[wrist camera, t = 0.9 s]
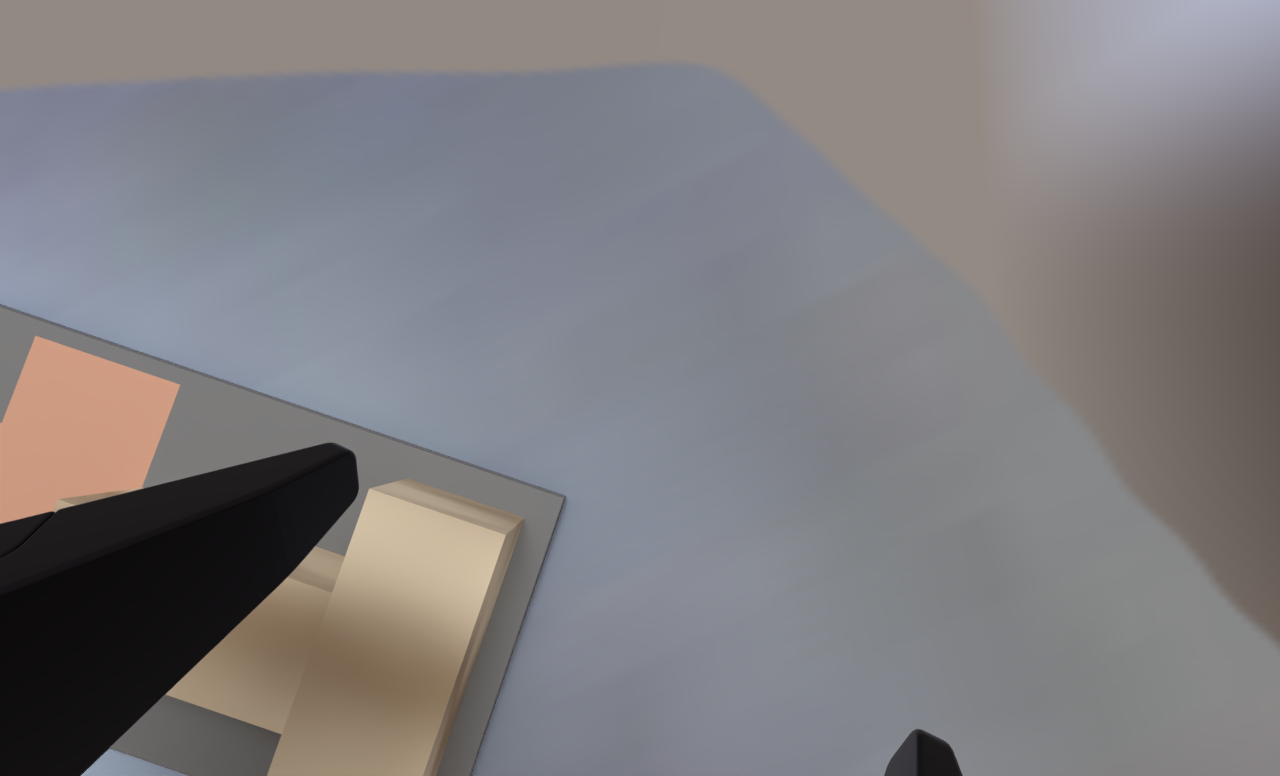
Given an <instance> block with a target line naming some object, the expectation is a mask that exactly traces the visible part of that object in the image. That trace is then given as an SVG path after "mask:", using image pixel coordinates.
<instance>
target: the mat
mask: <svg viewBox="0 0 1280 776" xmlns="http://www.w3.org/2000/svg"><path fill="white" fill-rule="evenodd" d="M329 442H332V443H337V444H339V445H341V446H343V447H345V448H347V449H349V450H351V451H353V452H354V454H355V456H356V460H357V470H358V479H359V492H358V495H357V497H356V499H355V501H354V502H353V503H352V505H351V506H350V507H349V508H348V509H347V510H346V511H345V513H344V514H343V515H342V516H341V517H340V518H339V520H338V521H337V522H336V523H335V524H334V525H333V526H332V528H331V529H330V530H329V531H328V532H327V533H326V535H325V536H324V537H323V538H322V539H321V540H320V541H319V543H318V544H317V545H316V547H319V548H322V549H324V550H327V551H330V552H333V553H336V554H339V555H342V556H345V555H346V552H347V550H348V547H349V544H350V541H351V538H352V536H353V533H354V530H355V527H356V524H357V521H358V519H359V516H360V513H361V510H362V507H363V505H364V502H365V499H366V496H367V493H368V491H369V489H370V488H373V487H377V486H381V485H385V484H388V483H392V482H396V481H399V480H403V479H407V478H408V479H411V480H414V481H417V482H420V483H423V484H426V485H429V486H432V487H435V488H438V489H441V490H444V491H447V492H450V493H453V494H455V495H458V496H461V497H464V498H467V499H470V500H473V501H476V502H479V503H482V504H485V505H488V506H491V507H494V508H497V509H500V510H503V511H506V512H509V513H511V514H514V515H517V516H520V517H523V518H524V521H523V524H522V527H521V530H520V533H519V535H518V538H517V541H516V544H515V547H514V550H513V553H512V556H511V559H510V562H509V565H508V567H507V570H506V573H505V576H504V579H503V582H502V585H501V588H500V591H499V594H498V597H497V600H496V602H495V605H494V608H493V611H492V614H491V617H490V620H489V623H488V626H487V629H486V632H485V634H484V637H483V640H482V643H481V646H480V649H479V652H478V655H477V658H476V661H475V664H474V666H473V669H472V672H471V675H470V678H469V681H468V684H467V687H466V690H465V693H464V696H463V698H462V701H461V704H460V707H459V710H458V713H457V716H456V719H455V722H454V725H453V728H452V731H451V733H450V736H449V739H448V742H447V745H446V748H445V751H444V754H443V757H442V760H441V763H440V765H439V768H438V771H437V774H436V776H471V773H472V770H473V767H474V764H475V761H476V758H477V755H478V752H479V749H480V746H481V743H482V740H483V738H484V735H485V732H486V729H487V726H488V723H489V720H490V717H491V714H492V711H493V708H494V705H495V702H496V699H497V696H498V694H499V691H500V688H501V685H502V682H503V679H504V676H505V673H506V670H507V667H508V664H509V661H510V658H511V655H512V652H513V650H514V647H515V644H516V641H517V638H518V635H519V632H520V629H521V626H522V623H523V620H524V617H525V614H526V611H527V608H528V606H529V603H530V600H531V597H532V594H533V591H534V588H535V585H536V582H537V579H538V576H539V573H540V570H541V567H542V564H543V562H544V559H545V556H546V553H547V550H548V547H549V544H550V541H551V538H552V535H553V532H554V529H555V526H556V523H557V520H558V518H559V515H560V512H561V509H562V506H563V503H564V500H565V497H566V496H564V495H561V494H558V493H555V492H552V491H549V490H546V489H543V488H541V487H538V486H535V485H532V484H529V483H526V482H523V481H520V480H517V479H514V478H511V477H508V476H505V475H502V474H499V473H496V472H493V471H490V470H487V469H484V468H482V467H479V466H476V465H473V464H470V463H467V462H464V461H461V460H458V459H455V458H452V457H449V456H446V455H443V454H440V453H437V452H434V451H431V450H428V449H425V448H422V447H420V446H417V445H414V444H411V443H408V442H405V441H402V440H399V439H396V438H393V437H390V436H387V435H384V434H381V433H378V432H375V431H372V430H369V429H366V428H363V427H361V426H358V425H355V424H352V423H349V422H346V421H343V420H340V419H337V418H334V417H331V416H328V415H325V414H322V413H319V412H316V411H313V410H310V409H307V408H304V407H302V406H299V405H296V404H293V403H290V402H287V401H284V400H281V399H278V398H275V397H272V396H269V395H266V394H263V393H260V392H257V391H254V390H251V389H248V388H245V387H243V386H240V385H237V384H234V383H231V382H228V381H225V380H222V379H219V378H216V377H213V376H210V375H207V374H204V373H201V372H198V371H195V370H192V369H189V368H186V367H184V366H181V365H178V364H175V363H172V362H169V361H166V360H163V359H160V358H157V357H154V356H151V355H148V354H145V353H142V352H139V351H136V350H133V349H130V348H127V347H124V346H122V345H119V344H116V343H113V342H110V341H107V340H104V339H101V338H98V337H95V336H92V335H89V334H86V333H83V332H80V331H77V330H74V329H71V328H68V327H65V326H63V325H60V324H57V323H54V322H51V321H48V320H45V319H42V318H39V317H36V316H33V315H30V314H27V313H24V312H21V311H18V310H15V309H12V308H9V307H6V306H4V305H1V304H0V523H5V522H9V521H13V520H18V519H22V518H26V517H30V516H34V515H38V514H42V513H46V512H50V511H53V510H54V508H55V505H56V503H57V500H58V499H63V498H71V497H78V496H85V495H92V494H99V493H106V492H113V491H120V490H127V489H134V488H141V487H142V488H147V487H151V486H155V485H159V484H163V483H167V482H171V481H175V480H179V479H183V478H187V477H191V476H195V475H199V474H203V473H207V472H211V471H215V470H219V469H223V468H227V467H231V466H235V465H239V464H243V463H247V462H251V461H255V460H259V459H263V458H267V457H271V456H275V455H280V454H284V453H288V452H292V451H296V450H300V449H304V448H308V447H312V446H316V445H320V444H324V443H329ZM281 735H282V734H279V733H276V732H273V731H270V730H268V729H265V728H262V727H259V726H256V725H253V724H250V723H247V722H244V721H241V720H238V719H235V718H232V717H230V716H227V715H224V714H221V713H218V712H215V711H212V710H209V709H206V708H203V707H200V706H197V705H195V704H192V703H189V702H186V701H183V700H180V699H177V698H174V697H171V696H168V695H164V696H163V697H162V698H161V699H160V700H159V701H158V702H157V703H156V704H155V705H154V706H153V707H152V708H151V709H150V710H149V711H148V712H147V713H146V714H144V715H143V716H142V717H141V718H140V719H139V720H138V721H137V722H136V723H135V724H134V725H133V726H132V727H131V728H130V729H129V730H128V731H127V732H126V733H125V734H124V735H123V736H121V737H120V738H119V739H118V740H117V741H116V742H115V743H114V744H113V745H112V746H111V747H110V748H111V749H113V750H116V751H119V752H122V753H125V754H128V755H131V756H134V757H137V758H140V759H143V760H146V761H148V762H151V763H154V764H157V765H160V766H163V767H166V768H169V769H172V770H175V771H178V772H181V773H183V774H186V775H189V776H267V774H268V771H269V768H270V766H271V763H272V760H273V757H274V754H275V752H276V749H277V746H278V743H279V740H280V738H281Z"/></svg>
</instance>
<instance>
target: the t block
mask: <svg viewBox="0 0 1280 776" xmlns="http://www.w3.org/2000/svg"><path fill="white" fill-rule="evenodd" d="M139 489H143V488H142V487H141V488H134V489H127V490H120V491H113V492H106V493H99V494H92V495H85V496H78V497H71V498H63V499H58V500H57V503H56V505H55V508H54V510H53V511H54V512H56V511H58V510H59V509H62V508H66V507H70V506H74V505H78V504H82V503H86V502H90V501H94V500H98V499H103V498H107V497H111V496H115V495H119V494H123V493H127V492H131V491H135V490H139ZM523 521H524V518H523V517H520V516H517V515H514V514H511V513H509V512H506V511H503V510H500V509H497V508H494V507H491V506H488V505H485V504H482V503H479V502H476V501H473V500H470V499H467V498H464V497H461V496H458V495H455V494H453V493H450V492H447V491H444V490H441V489H438V488H435V487H432V486H429V485H426V484H423V483H420V482H417V481H414V480H411V479H408V478H407V479H403V480H399V481H396V482H392V483H388V484H385V485H381V486H377V487H373V488H370V489H369V491H368V493H367V496H366V499H365V502H364V505H363V507H362V510H361V513H360V516H359V519H358V521H357V524H356V527H355V530H354V533H353V536H352V538H351V541H350V544H349V547H348V550H347V552H346V555H345V556H342V555H339V554H336V553H333V552H330V551H327V550H324V549H322V548H319V547H316V546H315V547H314V548H313V550H312V551H311V552H310V553H309V554H308V555H307V556H306V558H305V559H304V560H303V561H302V562H301V563H300V564H299V566H298V567H297V568H296V569H295V570H294V571H293V572H292V573H291V574H290V575H289V576H288V577H287V578H286V579H285V580H284V581H283V582H282V583H281V584H280V585H279V586H278V587H277V588H276V589H275V590H274V591H273V592H272V593H271V594H270V595H269V596H268V597H267V598H266V599H265V600H264V601H263V602H262V603H260V604H259V605H258V606H257V607H256V608H255V609H254V610H253V611H252V612H251V613H250V614H249V615H248V616H247V617H246V618H245V619H244V620H243V621H242V622H241V623H240V624H239V625H237V626H236V627H235V628H234V629H233V630H232V631H231V632H230V633H229V634H228V635H227V636H226V637H225V638H224V639H223V640H222V641H221V642H220V643H219V644H218V645H217V646H216V647H215V648H213V649H212V650H211V651H210V652H209V653H208V654H207V655H206V656H205V657H204V658H203V659H202V660H201V661H200V662H199V663H198V664H197V665H196V666H195V667H194V668H193V669H192V670H190V671H189V672H188V673H187V674H186V675H185V676H184V677H183V678H182V679H181V680H180V681H179V682H178V683H177V684H176V685H175V686H174V687H173V688H172V689H171V690H170V691H169V692H167V693H166V694H165V695H168V696H171V697H174V698H177V699H180V700H183V701H186V702H189V703H192V704H195V705H197V706H200V707H203V708H206V709H209V710H212V711H215V712H218V713H221V714H224V715H227V716H230V717H232V718H235V719H238V720H241V721H244V722H247V723H250V724H253V725H256V726H259V727H262V728H265V729H268V730H270V731H273V732H276V733H279V734H282V735H281V738H280V740H279V743H278V746H277V749H276V752H275V754H274V757H273V760H272V763H271V766H270V768H269V771H268V774H267V776H436V774H437V771H438V768H439V765H440V763H441V760H442V757H443V754H444V751H445V748H446V745H447V742H448V739H449V736H450V733H451V731H452V728H453V725H454V722H455V719H456V716H457V713H458V710H459V707H460V704H461V701H462V698H463V696H464V693H465V690H466V687H467V684H468V681H469V678H470V675H471V672H472V669H473V666H474V664H475V661H476V658H477V655H478V652H479V649H480V646H481V643H482V640H483V637H484V634H485V632H486V629H487V626H488V623H489V620H490V617H491V614H492V611H493V608H494V605H495V602H496V600H497V597H498V594H499V591H500V588H501V585H502V582H503V579H504V576H505V573H506V570H507V567H508V565H509V562H510V559H511V556H512V553H513V550H514V547H515V544H516V541H517V538H518V535H519V533H520V530H521V527H522V524H523Z"/></svg>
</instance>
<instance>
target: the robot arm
mask: <svg viewBox="0 0 1280 776" xmlns="http://www.w3.org/2000/svg"><path fill="white" fill-rule="evenodd" d="M358 492H359V479H358V470H357V460H356V456H355V454H354V452H353V451H351V450H349V449H347V448H345V447H343V446H341V445H339V444H337V443H332V442H329V443H324V444H320V445H316V446H312V447H308V448H304V449H300V450H296V451H292V452H288V453H284V454H280V455H275V456H271V457H267V458H263V459H259V460H255V461H251V462H247V463H243V464H239V465H235V466H231V467H227V468H223V469H219V470H215V471H211V472H207V473H203V474H199V475H195V476H191V477H187V478H183V479H179V480H175V481H171V482H167V483H163V484H159V485H155V486H151V487H147V488H143V489H139V490H135V491H131V492H127V493H123V494H119V495H115V496H111V497H107V498H103V499H98V500H94V501H90V502H86V503H82V504H78V505H74V506H70V507H66V508H62V509H59V510H58V511H56V512H54V511H50V512H46V513H42V514H38V515H34V516H30V517H26V518H22V519H18V520H13V521H9V522H5V523H0V776H81V775H82V774H83V773H84V772H85V771H86V770H87V769H88V768H89V767H90V766H91V765H92V764H93V763H94V762H95V761H96V760H97V759H98V758H100V757H101V756H102V755H103V754H104V753H105V752H106V751H107V750H108V749H109V748H110V747H111V746H112V745H113V744H114V743H115V742H116V741H117V740H118V739H119V738H120V737H121V736H123V735H124V734H125V733H126V732H127V731H128V730H129V729H130V728H131V727H132V726H133V725H134V724H135V723H136V722H137V721H138V720H139V719H140V718H141V717H142V716H143V715H144V714H146V713H147V712H148V711H149V710H150V709H151V708H152V707H153V706H154V705H155V704H156V703H157V702H158V701H159V700H160V699H161V698H162V697H163V696H164V695H165V694H166V693H167V692H169V691H170V690H171V689H172V688H173V687H174V686H175V685H176V684H177V683H178V682H179V681H180V680H181V679H182V678H183V677H184V676H185V675H186V674H187V673H188V672H189V671H190V670H192V669H193V668H194V667H195V666H196V665H197V664H198V663H199V662H200V661H201V660H202V659H203V658H204V657H205V656H206V655H207V654H208V653H209V652H210V651H211V650H212V649H213V648H215V647H216V646H217V645H218V644H219V643H220V642H221V641H222V640H223V639H224V638H225V637H226V636H227V635H228V634H229V633H230V632H231V631H232V630H233V629H234V628H235V627H236V626H237V625H239V624H240V623H241V622H242V621H243V620H244V619H245V618H246V617H247V616H248V615H249V614H250V613H251V612H252V611H253V610H254V609H255V608H256V607H257V606H258V605H259V604H260V603H262V602H263V601H264V600H265V599H266V598H267V597H268V596H269V595H270V594H271V593H272V592H273V591H274V590H275V589H276V588H277V587H278V586H279V585H280V584H281V583H282V582H283V581H284V580H285V579H286V578H287V577H288V576H289V575H290V574H291V573H292V572H293V571H294V570H295V569H296V568H297V567H298V566H299V564H300V563H301V562H302V561H303V560H304V559H305V558H306V556H307V555H308V554H309V553H310V552H311V551H312V550H313V548H314V547H315V546H316V545H317V544H318V543H319V541H320V540H321V539H322V538H323V537H324V536H325V535H326V533H327V532H328V531H329V530H330V529H331V528H332V526H333V525H334V524H335V523H336V522H337V521H338V520H339V518H340V517H341V516H342V515H343V514H344V513H345V511H346V510H347V509H348V508H349V507H350V506H351V505H352V503H353V502H354V501H355V499H356V497H357V495H358ZM885 776H963V775H962V773H961V770H960V768H959V765H958V762H957V760H956V757H955V755H954V752H953V750H952V748H951V747H950V745H949V744H948V743H947V742H945V741H944V740H942V739H940V738H938V737H936V736H933V735H931V734H929V733H927V732H925V731H923V730H921V729H916V730H914V731H912V732H911V733H910V735H909V736H908V737H907V739H906V740H905V741H904V743H903V744H902V745H901V746H900V748H899V749H898V750H897V752H896V753H895V754H894V756H893V757H892V758H891V760H890V762H889V764H888V766H887V769H886V772H885Z"/></svg>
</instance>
